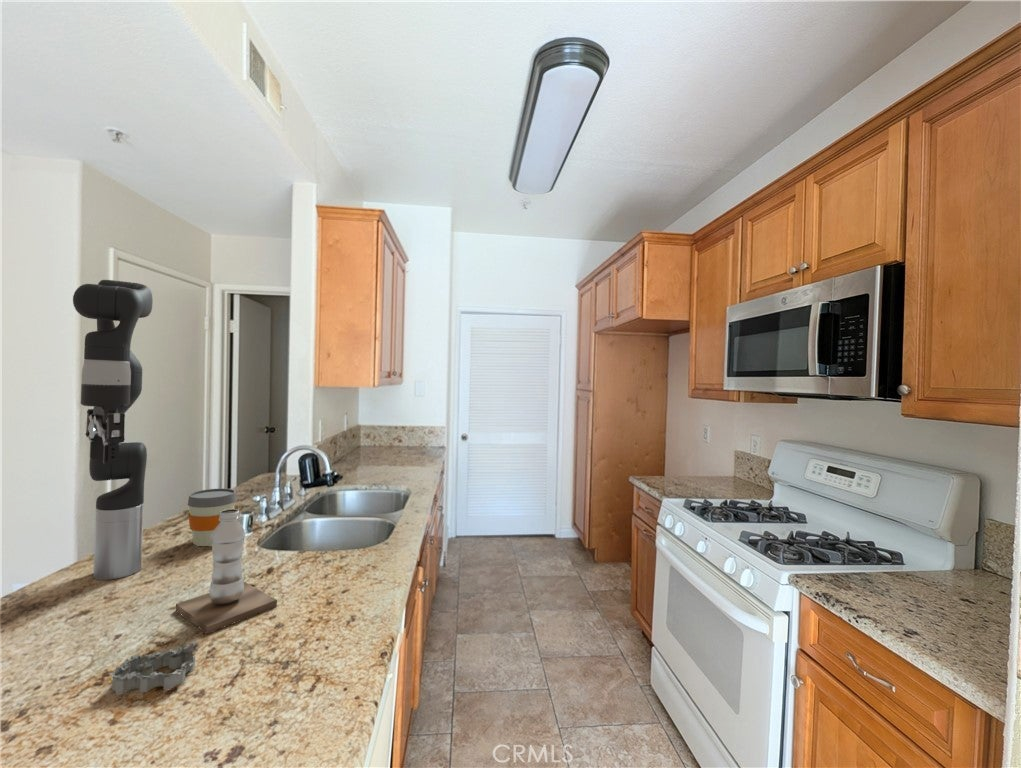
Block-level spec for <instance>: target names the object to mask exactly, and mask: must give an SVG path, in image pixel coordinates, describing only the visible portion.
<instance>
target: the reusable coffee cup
mask: <svg viewBox="0 0 1021 768" xmlns="http://www.w3.org/2000/svg"><path fill="white" fill-rule="evenodd" d="M187 500H188V501H187V506H188V510H189V512H188V523H189V529H190V530H191V533H192V534H191V535H192V542H193V545H194V544H195V545H197V546H196V547H198V546H209V547H212V544H211V536H212V533H213V531H214V530H215V528H216V527H217V526H218V525H219V524H220V521H219V517H220V512H221V511H223V510H228V509H236V508H235V504H236V501H237V492H236V490H235V489H234V488H233V489H232V488H220V487H219V488H209V489H202V490H198V491H194V492H191V493H190V494H189V495H188V499H187ZM195 545H194V546H195Z"/></svg>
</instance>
